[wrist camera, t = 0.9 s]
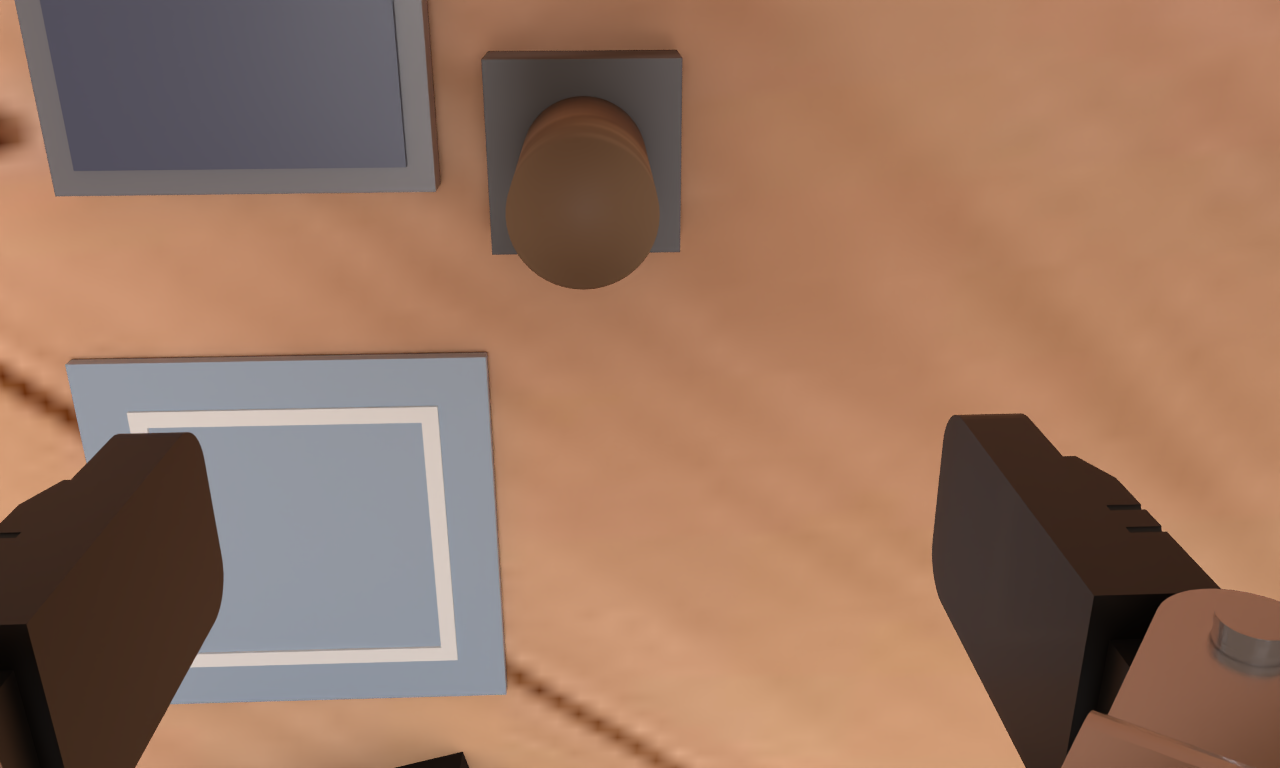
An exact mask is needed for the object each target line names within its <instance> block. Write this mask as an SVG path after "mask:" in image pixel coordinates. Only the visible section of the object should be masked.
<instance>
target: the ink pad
mask: <svg viewBox="0 0 1280 768" xmlns="http://www.w3.org/2000/svg"><path fill="white" fill-rule="evenodd" d="M15 5H16V9H17V14H18V19H19V24H20V29H21V33H22V38H23V43H24V48H25V53H26V57H27V62H28V67H29V72H30V77H31V81H32V86H33V91H34V96H35V101H36V105H37V110H38V115H39V120H40V125H41V129H42V134H43V139H44V144H45V149H46V153H47V158H48V163H49V168H50V173H51V177H52V182H53V187H54V192H55V196H121V195H205V194H288V193H372V192H436V191H437V189H438V187H439V186H440V184H441V183H440V169H439V156H438V142H437V128H436V114H435V101H434V87H433V73H432V59H431V46H430V32H429V18H428V5H427V0H15Z"/></svg>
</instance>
